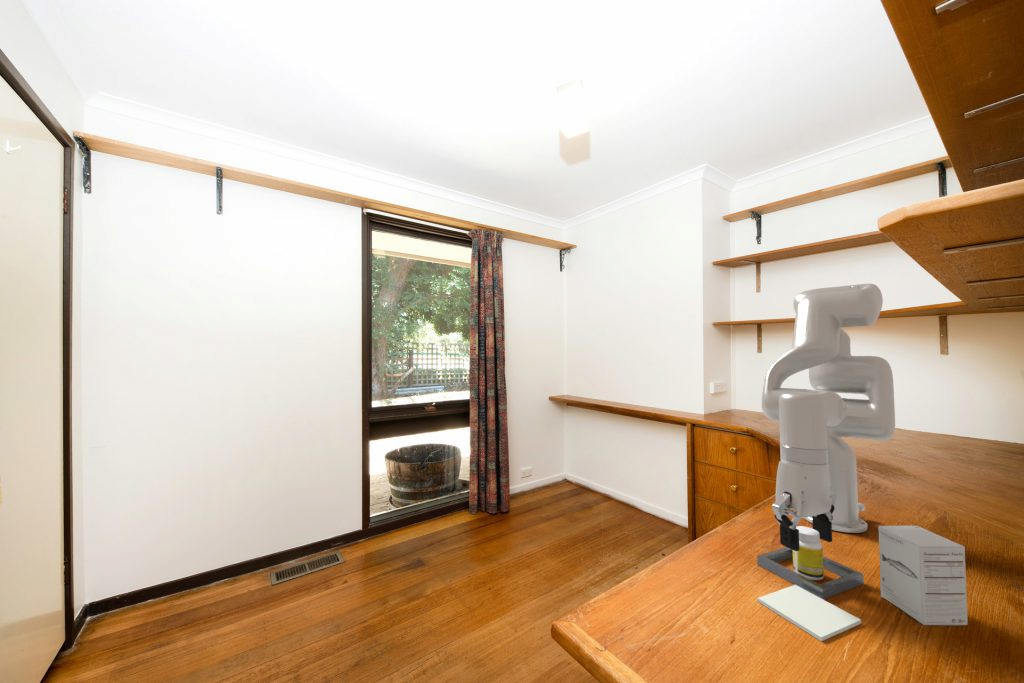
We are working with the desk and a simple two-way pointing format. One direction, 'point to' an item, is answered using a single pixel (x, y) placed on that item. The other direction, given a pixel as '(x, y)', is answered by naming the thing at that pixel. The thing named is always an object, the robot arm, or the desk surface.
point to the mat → (809, 612)
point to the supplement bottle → (809, 554)
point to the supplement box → (923, 574)
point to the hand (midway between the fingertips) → (806, 543)
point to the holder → (821, 591)
